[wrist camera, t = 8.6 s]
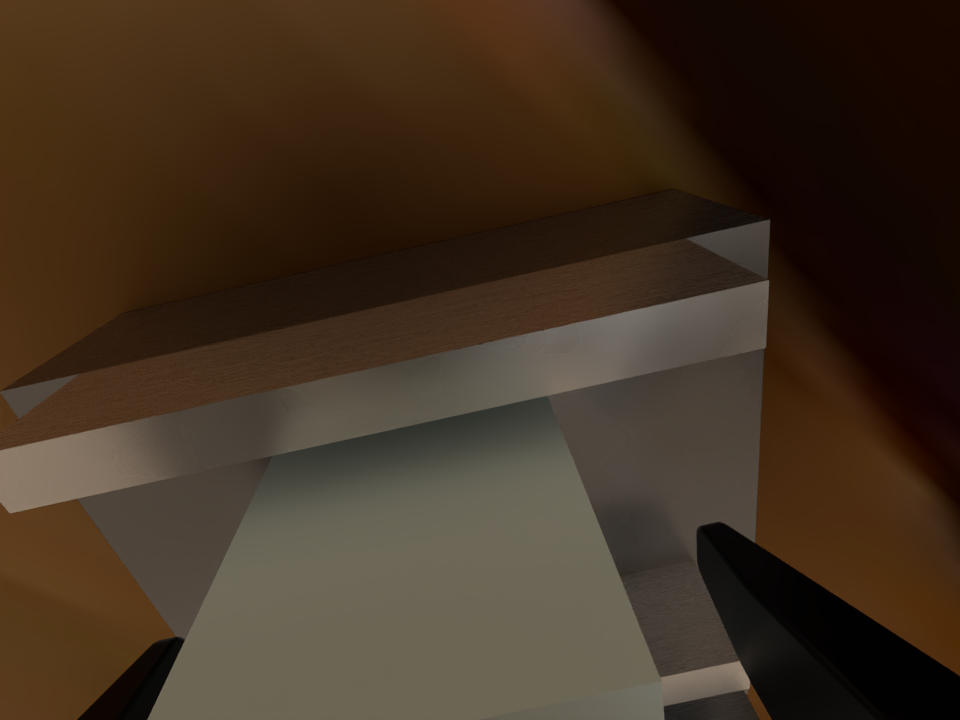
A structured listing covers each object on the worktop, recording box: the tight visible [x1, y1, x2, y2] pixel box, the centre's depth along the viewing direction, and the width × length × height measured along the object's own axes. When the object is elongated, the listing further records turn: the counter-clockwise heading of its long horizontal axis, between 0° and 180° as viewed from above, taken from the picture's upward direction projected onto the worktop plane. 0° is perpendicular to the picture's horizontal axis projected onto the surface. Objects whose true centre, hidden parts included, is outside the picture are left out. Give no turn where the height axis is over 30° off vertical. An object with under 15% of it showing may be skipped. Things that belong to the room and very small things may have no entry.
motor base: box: [0, 189, 770, 720], centre depth 12 cm, size 14×14×8 cm
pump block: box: [147, 396, 665, 720], centre depth 8 cm, size 5×5×6 cm
